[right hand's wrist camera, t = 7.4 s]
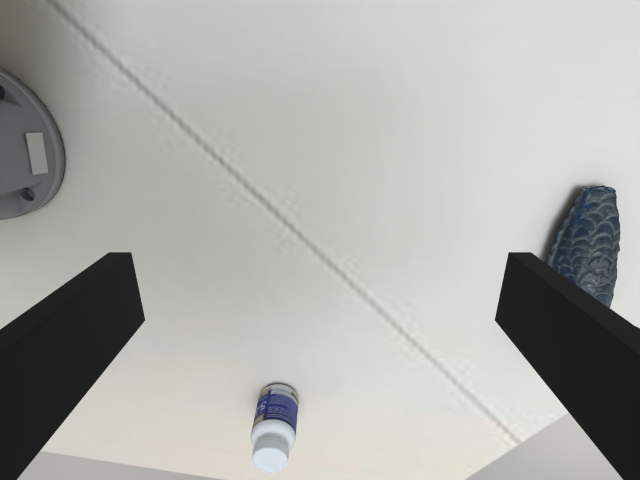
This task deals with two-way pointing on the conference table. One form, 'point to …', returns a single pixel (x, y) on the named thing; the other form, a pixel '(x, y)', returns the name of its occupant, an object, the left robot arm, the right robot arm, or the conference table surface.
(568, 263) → the fish model
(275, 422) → the pill bottle
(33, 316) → the right robot arm
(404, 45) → the conference table surface
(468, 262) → the conference table surface
